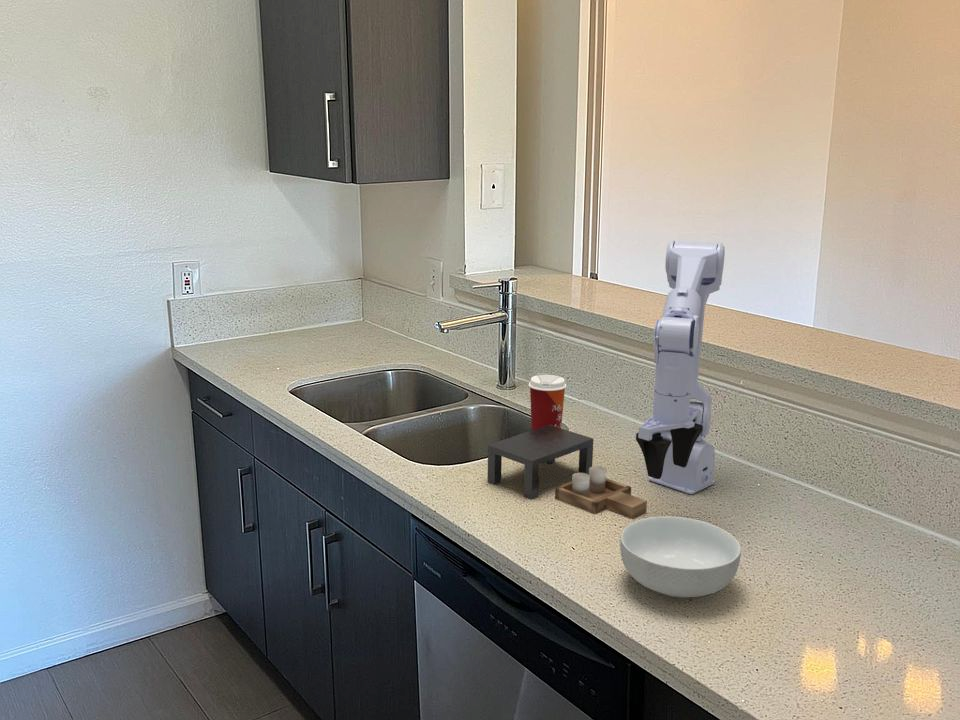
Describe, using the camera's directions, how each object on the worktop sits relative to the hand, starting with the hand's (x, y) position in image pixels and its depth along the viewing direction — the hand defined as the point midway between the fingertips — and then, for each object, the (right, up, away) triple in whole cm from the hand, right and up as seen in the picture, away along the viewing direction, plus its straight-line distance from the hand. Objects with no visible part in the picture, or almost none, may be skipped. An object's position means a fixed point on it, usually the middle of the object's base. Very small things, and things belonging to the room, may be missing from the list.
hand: (667, 471), depth 150 cm
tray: (-9, -7, +11) cm, 15 cm away
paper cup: (-17, +1, +39) cm, 43 cm away
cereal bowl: (-2, -15, -17) cm, 22 cm away
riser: (-19, -4, +21) cm, 29 cm away
